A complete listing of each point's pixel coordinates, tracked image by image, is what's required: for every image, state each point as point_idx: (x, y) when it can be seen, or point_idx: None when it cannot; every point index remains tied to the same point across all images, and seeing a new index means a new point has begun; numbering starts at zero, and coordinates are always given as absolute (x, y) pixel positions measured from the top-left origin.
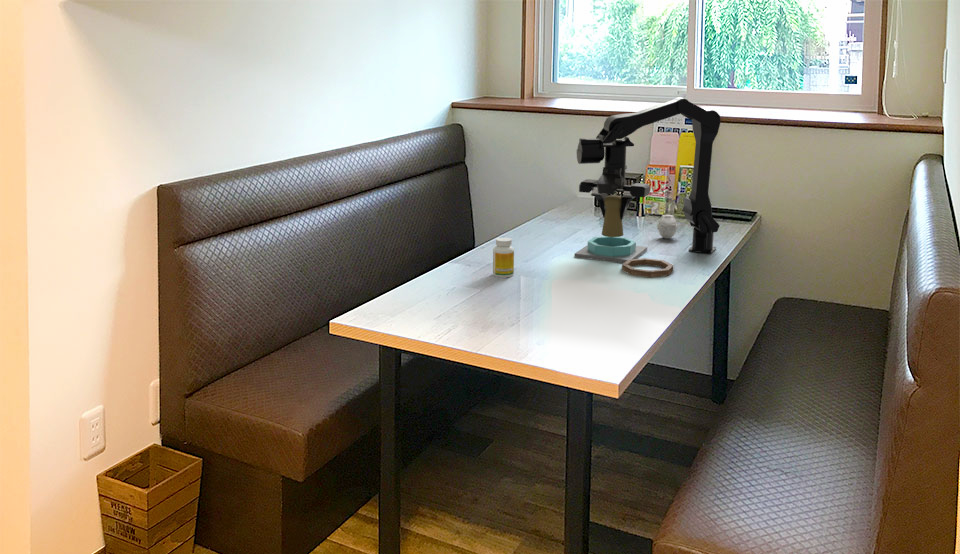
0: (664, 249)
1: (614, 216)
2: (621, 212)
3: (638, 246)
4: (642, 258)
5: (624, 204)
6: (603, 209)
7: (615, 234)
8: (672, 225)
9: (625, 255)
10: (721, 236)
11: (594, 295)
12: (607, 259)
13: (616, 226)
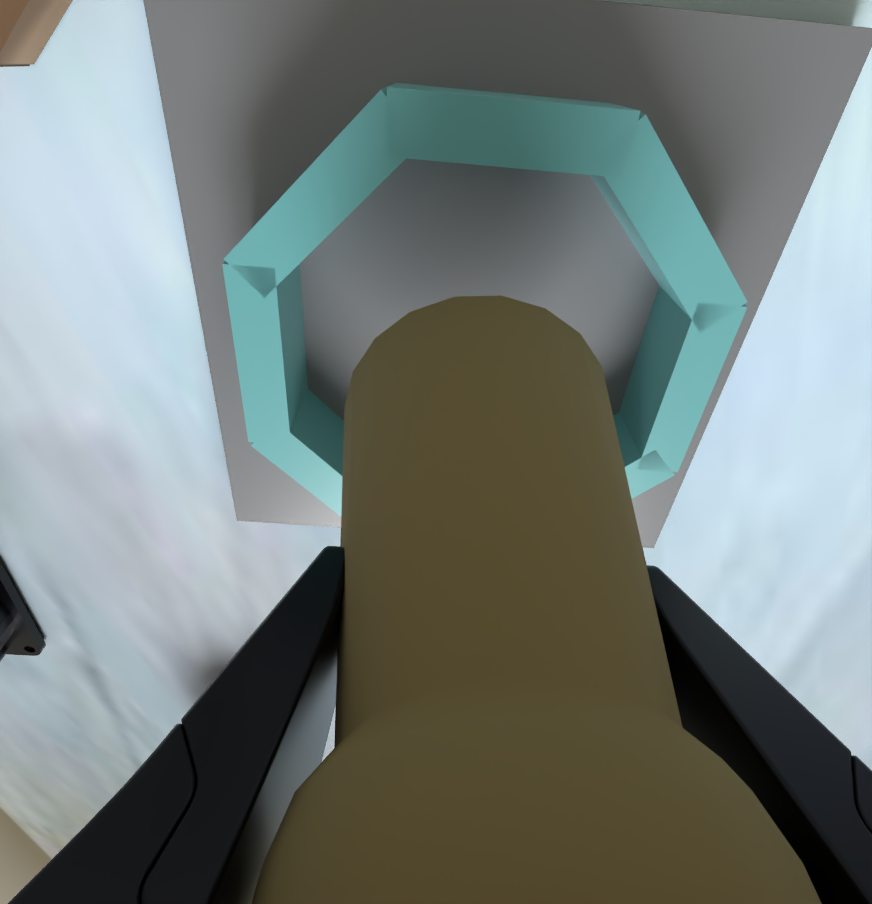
0: (158, 555)
1: (436, 525)
2: (297, 645)
3: (300, 513)
4: (2, 26)
5: (112, 866)
6: (732, 692)
7: (408, 333)
8: None
9: (283, 189)
10: (61, 787)
11: None
12: None
13: (397, 408)
